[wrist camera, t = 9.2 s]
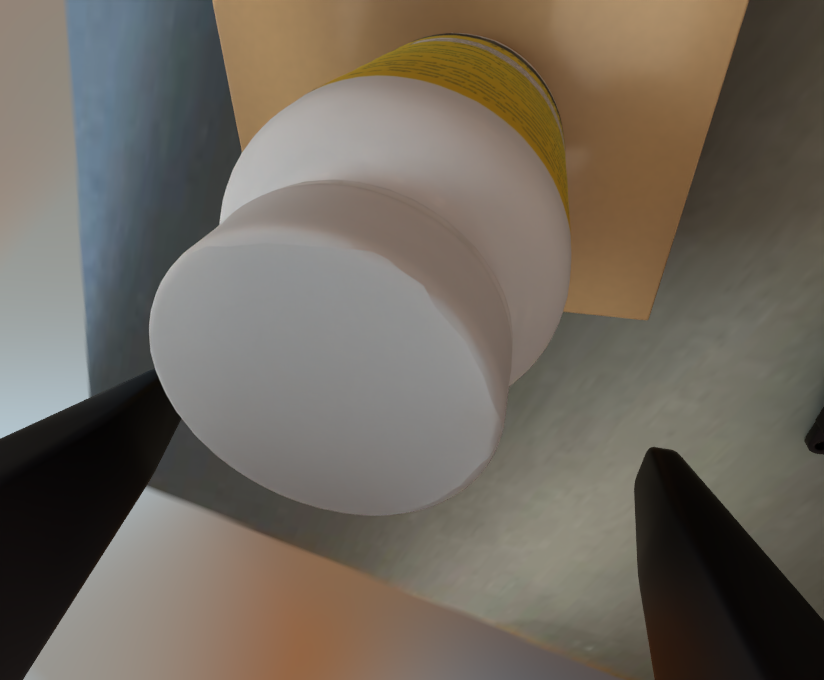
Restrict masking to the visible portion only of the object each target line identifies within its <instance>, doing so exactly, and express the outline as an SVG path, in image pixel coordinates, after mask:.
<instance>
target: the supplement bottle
mask: <svg viewBox="0 0 824 680" xmlns="http://www.w3.org/2000/svg"><path fill="white" fill-rule="evenodd" d="M571 258H572V252H571V229H570V215H569V201H568V183H567V171H566V157H565V142H564V133H563V127H562V122H561V118H560V114H559V111H558V108H557V105H556V102H555V100H554V98H553V96H552V94H551V92H550V90H549V88H548V86H547V84H546V83H545V81H544V80H543V78H542V77H541V76H540V74H539V73H538V72H537V71H536V69H535V68H534V67H533V66H532V65H531V64H530V63H529V62H528V61H527V60H526V59H525V58H523V57H522V56H521V55H520V54H518V53H517V52H515V51H514V50H512V49H511V48H509V47H507V46H506V45H504V44H502V43H500V42H498V41H495V40H492V39H489V38H485V37H482V36H477V35H472V34H464V33H445V34H437V35H431V36H427V37H423V38H420V39H417V40H414V41H412V42H410V43H408V44H406V45H404V46H401V47H399V48H397V49H395V50H393V51H392V52H389V53H387V54H385V55H382V56H381V57H379V58H377V59H375V60H373V61H371V62H369V63H367V64H365V65H363V66H361V67H359V68H357V69H355V70H353V71H351V72H349V73H347V74H345V75H342V76H340V77H338V78H336V79H334V80H332V81H330V82H328V83H325V84H324V85H322V86H320V87H318V88H316V89H314V90H312V91H310V92H309V93H307V94H305V95H304V96H302V97H301V98H299V99H298V100H297V101H295V102H294V103H292V104H291V105H289V106H287V107H286V108H284V109H283V110H282V111H280V112H279V113H278V114H277V115H275V116H274V117H273V118H271V119H270V120H269V121H268V122H267V123H266V124H265V125H264V126H263V127H262V128H261V129H260V130H259V131H258V132H257V134H256V135H255V136H254V137H253V138H252V140H251V141H250V142H249V144H248V145H247V147H246V148H245V149H244V151H243V152H242V154H241V156H240V158H239V159H238V161H237V163H236V165H235V167H234V169H233V171H232V174H231V177H230V179H229V182H228V185H227V187H226V191H225V194H224V198H223V203H222V210H221V217H220V225H219V226H218V227H217V228H215V229H214V230H213V231H212V232H210V233H209V234H208V235H207V236H205V237H204V238H203V239H201V240H200V241H199V242H197V243H196V244H195V245H193V246H192V247H191V248H189V249H188V250H187V251H185V252H184V253H183V254H182V255H181V256H180V257H179V259H178V260H177V261H176V262H175V263H174V264H173V265H172V266H171V267H170V269H169V270H168V272H167V274H166V275H165V277H164V278H163V280H162V281H161V284H160V286H159V288H158V290H157V293H156V295H155V299H154V302H153V306H152V309H151V314H150V323H149V338H150V350H151V355H152V359H153V362H154V366H155V370H156V373H157V375H158V377H159V379H160V382H161V384H162V386H163V389H164V391H165V393H166V395H167V397H168V398H169V400H170V402H171V404H172V405H173V407H174V409H175V410H176V412H177V413H178V414H179V416H180V417H181V418H182V419H183V421H184V422H185V423H186V424H187V426H188V427H189V428H190V429H191V431H192V432H193V433H194V434H195V436H197V437H198V438H199V439H200V440H201V441H202V442H203V443H204V444H205V445H206V446H207V447H208V448H209V449H210V450H211V451H212V452H213V453H214V454H215V455H216V456H218V457H219V458H220V459H222V460H223V461H224V462H226V463H227V464H228V465H230V466H231V467H232V468H234V469H235V470H237V471H238V472H240V473H241V474H243V475H244V476H246V477H248V478H249V479H251V480H253V481H255V482H256V483H258V484H260V485H261V486H263V487H265V488H267V489H270V490H272V491H274V492H276V493H278V494H280V495H282V496H285V497H287V498H290V499H293V500H295V501H298V502H301V503H304V504H307V505H311V506H314V507H317V508H321V509H326V510H331V511H336V512H341V513H347V514H356V515H372V516H379V515H395V514H402V513H409V512H414V511H418V510H421V509H425V508H428V507H432V506H434V505H437V504H439V503H441V502H444V501H446V500H447V499H449V498H451V497H453V496H454V495H456V494H458V493H460V492H461V491H463V490H464V489H465V488H466V487H468V486H469V485H470V484H471V483H472V482H473V481H474V480H475V479H476V478H477V477H478V476H479V475H480V474H481V473H482V472H483V470H484V469H485V468H486V466H487V465H488V464H489V462H490V461H491V459H492V457H493V455H494V453H495V451H496V449H497V446H498V443H499V441H500V438H501V436H502V432H503V426H504V421H505V414H506V406H507V399H508V391H509V386H511V385H512V384H513V383H514V382H515V381H516V380H518V379H519V378H520V377H521V376H522V375H524V374H525V373H526V372H527V371H528V370H529V369H530V368H531V367H532V365H533V364H534V363H535V362H536V360H537V359H538V358H539V357H540V355H541V354H542V353H543V352H544V350H545V349H546V347H547V345H548V344H549V342H550V340H551V339H552V337H553V335H554V333H555V331H556V328H557V326H558V324H559V322H560V319H561V316H562V313H563V310H564V307H565V303H566V300H567V296H568V289H569V282H570V272H571Z"/></svg>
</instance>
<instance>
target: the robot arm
mask: <svg viewBox="0 0 824 680" xmlns="http://www.w3.org/2000/svg"><path fill="white" fill-rule="evenodd" d="M180 420H181V417H180V416H179V414H178V413H177V412H176V410H175V409H174V407H173V405H172V404H171V402H170V400H169V398H168V397H167V395H166V393H165V391H164V389H163V386H162V384H161V382H160V379H159V377H158V375H157V373H156V370H155V369H153V370H150V371H147V372H145V373H143V374H141V375H139V376H137V377H134V378H132V379H130V380H128V381H126V382H123V383H121V384H119V385H117V386H115V387H112V388H110V389H108V390H106V391H104V392H102V393H99V394H97V395H95V396H93V397H91V398H88V399H86V400H84V401H82V402H80V403H78V404H75V405H73V406H71V407H69V408H67V409H65V410H62V411H60V412H58V413H56V414H53V415H51V416H49V417H47V418H45V419H43V420H40V421H38V422H36V423H34V424H32V425H29V426H28V427H25V428H23V429H21V430H19V431H16V432H14V433H12V434H10V435H8V436H5V437H3V438H1V439H0V680H23V679H24V677H25V675H26V674H27V672H28V671H29V669H30V668H31V666H32V665H33V663H34V661H35V660H36V658H37V657H38V655H39V654H40V652H41V650H42V649H43V647H44V646H45V644H46V643H47V641H48V639H49V638H50V636H51V635H52V633H53V632H54V630H55V629H56V627H57V625H58V624H59V622H60V621H61V619H62V617H63V616H64V614H65V613H66V611H67V610H68V608H69V607H70V605H71V603H72V602H73V600H74V599H75V597H76V596H77V594H78V592H79V591H80V589H81V588H82V586H83V585H84V583H85V581H86V580H87V578H88V577H89V575H90V574H91V572H92V570H93V569H94V567H95V566H96V564H97V563H98V561H99V559H100V558H101V556H102V555H103V553H104V552H105V550H106V549H107V547H108V545H109V544H110V542H111V541H112V539H113V538H114V536H115V534H116V533H117V531H118V529H119V528H120V527H121V525H122V523H123V522H124V520H125V519H126V517H127V515H128V514H129V512H130V511H131V509H132V508H133V506H134V505H135V503H136V501H137V500H138V498H139V497H140V495H141V494H142V492H143V491H144V489H145V487H146V486H147V484H148V482H149V481H150V479H151V477H152V475H153V473H154V472H155V470H156V468H157V466H158V464H159V462H160V460H161V458H162V456H163V454H164V452H165V450H166V448H167V446H168V444H169V442H170V440H171V438H172V436H173V434H174V432H175V430H176V428H177V426H178V424H179V422H180ZM819 442H821V443H819ZM805 443H806V445H807V447H808V449H809V450H810V451H811V452H813V453H817V454H824V407H823V409H822V410H821V412H820V414H819V415H818V417H817V418H816V422H815V423H814V425H813V426H812V428H811V430H810V431H809V433H808V434H807V436H806V438H805ZM634 495H635V519H636V543H637V565H638V577H639V585H640V592H641V598H642V604H643V610H644V616H645V622H646V628H647V635H648V641H649V647H650V653H651V659H652V665H653V671H654V677H655V680H824V621H823V619H822V618H821V617H820V616H819V615H818V614H817V613H816V611H815V610H814V609H813V608H812V607H811V606H810V604H809V603H808V602H807V601H806V600H805V599H804V598H803V596H802V595H801V594H800V593H799V592H798V591H797V589H796V588H795V587H794V586H793V585H792V584H791V583H790V581H789V580H788V579H787V578H786V577H785V576H784V574H783V573H782V572H781V571H780V570H779V569H778V568H777V566H776V565H775V564H774V563H773V562H772V561H771V559H770V558H769V557H768V556H767V555H766V554H765V553H764V551H763V550H762V549H761V548H760V547H759V546H758V545H757V543H756V542H755V541H754V540H753V539H752V538H751V536H750V535H749V534H748V533H747V532H746V531H745V530H744V528H743V527H742V526H741V525H740V524H739V523H738V521H737V520H736V519H735V518H734V517H733V516H732V515H731V513H730V512H729V511H728V510H727V509H726V508H725V506H724V505H723V504H722V503H721V502H720V501H719V500H718V498H717V497H716V496H715V495H714V494H713V493H712V491H711V490H710V489H709V488H708V487H707V486H706V485H705V483H704V482H703V481H702V480H701V479H700V478H699V477H698V475H697V474H696V473H695V472H694V471H693V470H692V468H691V467H690V466H689V465H688V464H687V463H686V462H685V460H684V459H683V458H682V457H681V456H680V455H679V454H678V453H677V452H676V451H674V450H670V449H663V448H657V447H651V448H649V449H648V451H647V452H646V454H645V457H644V459H643V462H642V464H641V467H640V469H639V472H638V474H637V477H636V480H635V487H634Z"/></svg>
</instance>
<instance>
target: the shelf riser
mask: <svg viewBox="0 0 824 680" xmlns="http://www.w3.org/2000/svg"><path fill="white" fill-rule="evenodd" d="M212 1H213V6H214V11H215V17H216V22H217V27H218V32H219V37H220V42H221V47H222V52H223V57H224V63H225V68H226V73H227V78H228V83H229V88H230V93H231V98H232V103H233V108H234V114H235V119H236V124H237V129H238V134H239V139H240V144H241V149H242V152H243V151H244V149H245V148H246V147H247V145H248V144H249V142H250V141H251V140H252V138H253V137H254V136H255V135H256V134H257V132H258V131H259V130H260V129H261V128H262V127H263V126H264V125H265V124H266V123H267V122H268V121H269V120H270V119H271V118H273V117H274V116H275V115H277V114H278V113H279V112H280V111H282V110H283V109H284V108H286V107H287V106H289V105H291V104H292V103H294V102H295V101H297V100H298V99H299V98H301V97H302V96H304V95H305V94H307V93H309V92H310V91H312V90H314V89H316V88H318V87H320V86H322V85H324V84H325V83H328V82H330V81H332V80H334V79H336V78H338V77H340V76H342V75H345V74H347V73H349V72H351V71H353V70H355V69H357V68H359V67H361V66H363V65H365V64H367V63H369V62H371V61H373V60H375V59H377V58H379V57H381V56H382V55H385V54H387V53H389V52H392V51H393V50H395V49H397V48H399V47H401V46H404V45H406V44H408V43H410V42H412V41H414V40H417V39H420V38H423V37H427V36H431V35H437V34H445V33H464V34H472V35H477V36H482V37H485V38H489V39H492V40H495V41H498V42H500V43H502V44H504V45H506V46H507V47H509V48H511V49H512V50H514V51H515V52H517V53H518V54H520V55H521V56H522V57H523V58H525V59H526V60H527V61H528V62H529V63H530V64H531V65H532V66H533V67H534V68H535V69H536V71H537V72H538V73H539V74H540V76H541V77H542V78H543V80H544V81H545V83H546V84H547V86H548V88H549V90H550V92H551V94H552V96H553V98H554V100H555V102H556V105H557V108H558V111H559V114H560V118H561V122H562V127H563V133H564V142H565V157H566V171H567V183H568V201H569V215H570V229H571V252H572V258H571V272H570V282H569V289H568V296H567V300H566V303H565V307H564V310H563V312H571V313H580V314H590V315H600V316H610V317H619V318H629V319H639V320H648V319H649V316H650V313H651V310H652V307H653V304H654V300H655V297H656V294H657V291H658V288H659V285H660V281H661V278H662V275H663V272H664V269H665V266H666V262H667V259H668V256H669V253H670V250H671V247H672V243H673V240H674V237H675V234H676V231H677V228H678V224H679V221H680V218H681V215H682V212H683V209H684V205H685V202H686V199H687V196H688V193H689V190H690V186H691V183H692V180H693V177H694V174H695V170H696V167H697V164H698V161H699V158H700V155H701V151H702V148H703V145H704V142H705V139H706V136H707V132H708V129H709V126H710V123H711V120H712V117H713V113H714V110H715V107H716V104H717V101H718V98H719V94H720V91H721V88H722V85H723V82H724V79H725V75H726V72H727V69H728V66H729V63H730V60H731V56H732V53H733V50H734V47H735V44H736V41H737V37H738V34H739V31H740V28H741V25H742V21H743V18H744V15H745V12H746V9H747V6H748V2H749V0H212Z"/></svg>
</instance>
